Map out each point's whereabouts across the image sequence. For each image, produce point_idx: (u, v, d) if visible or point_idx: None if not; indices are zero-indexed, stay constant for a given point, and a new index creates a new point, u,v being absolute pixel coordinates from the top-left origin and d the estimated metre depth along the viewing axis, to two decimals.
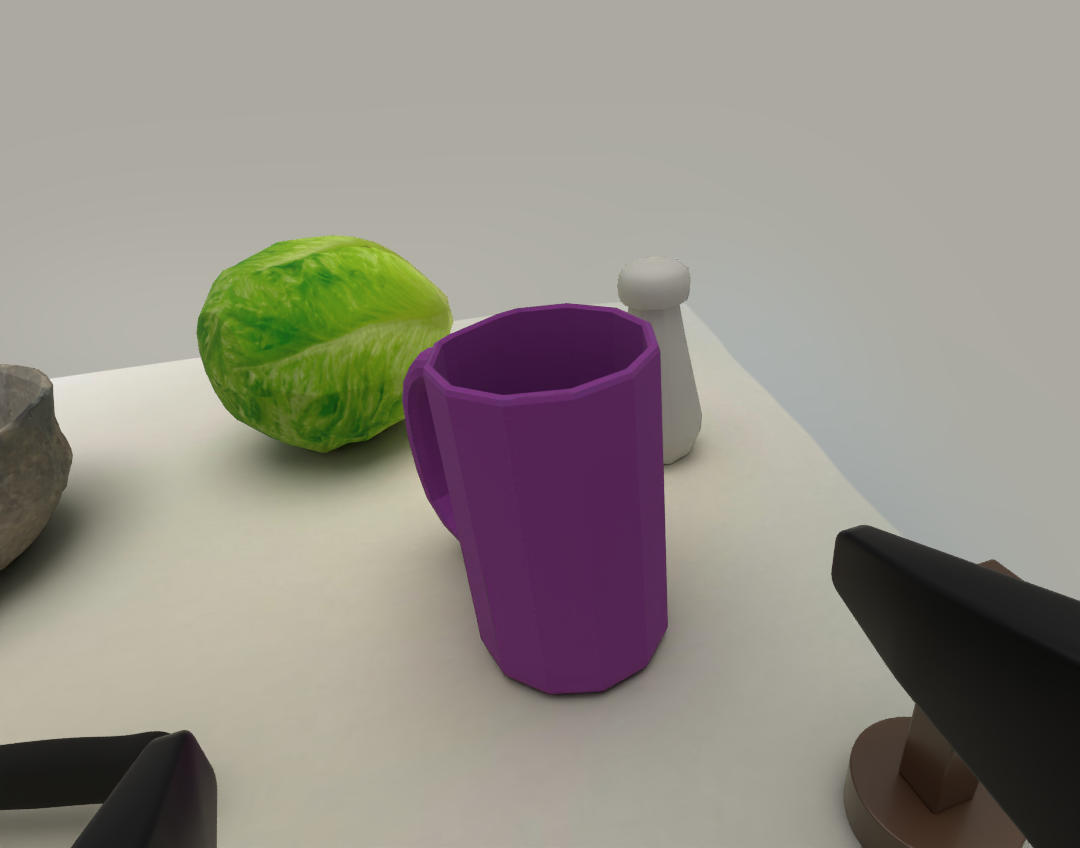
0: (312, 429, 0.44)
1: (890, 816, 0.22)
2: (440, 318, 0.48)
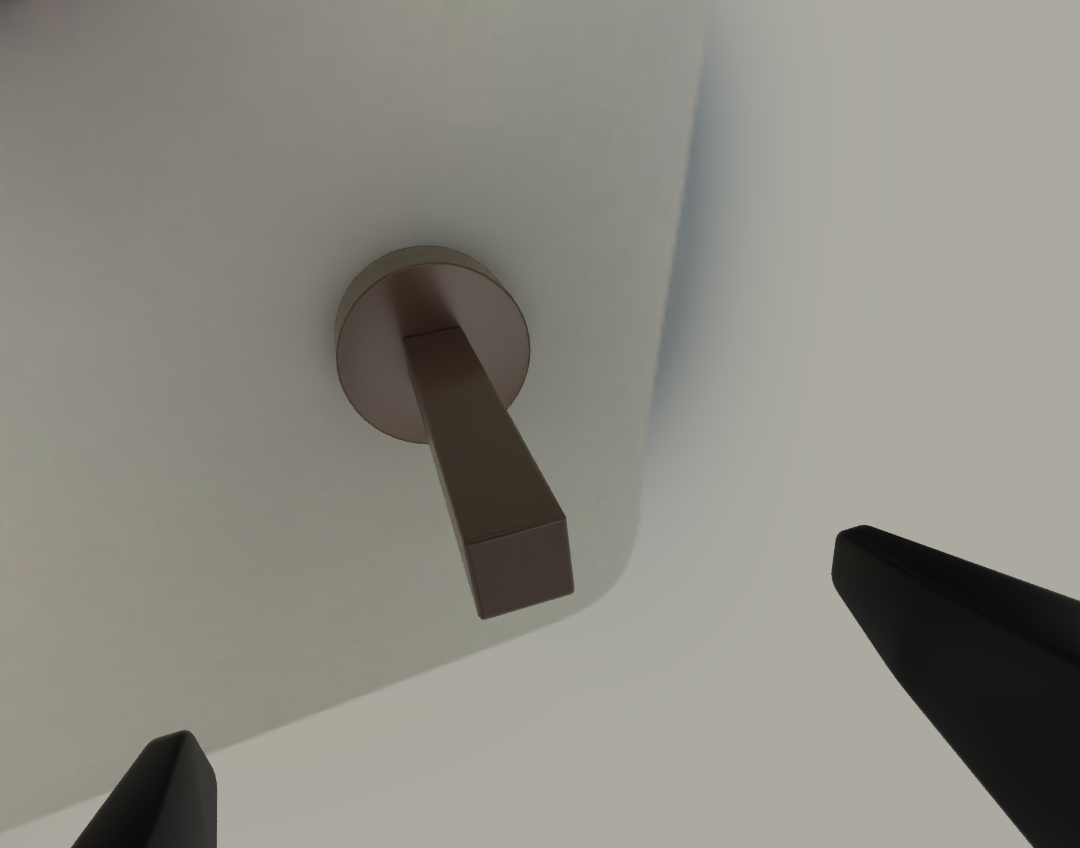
0: None
1: (363, 389, 0.18)
2: None
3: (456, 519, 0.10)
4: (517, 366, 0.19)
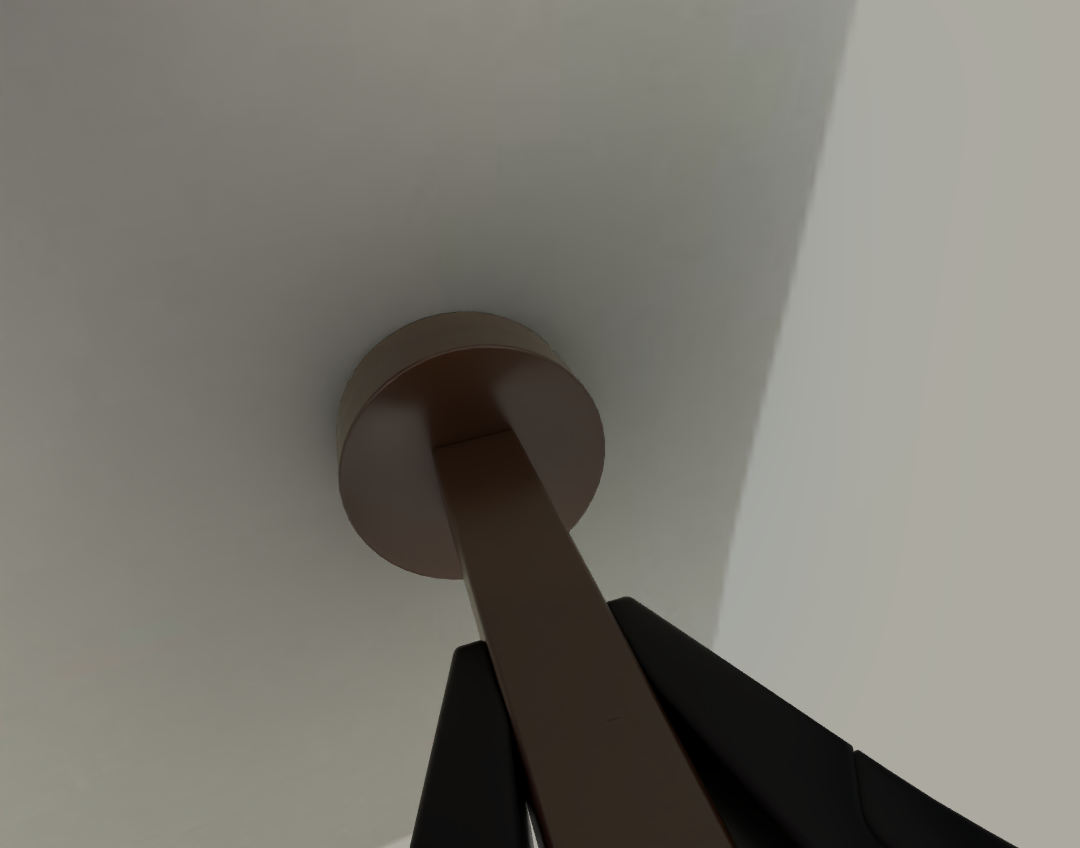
0: None
1: (376, 516, 0.13)
2: None
3: None
4: (587, 476, 0.14)
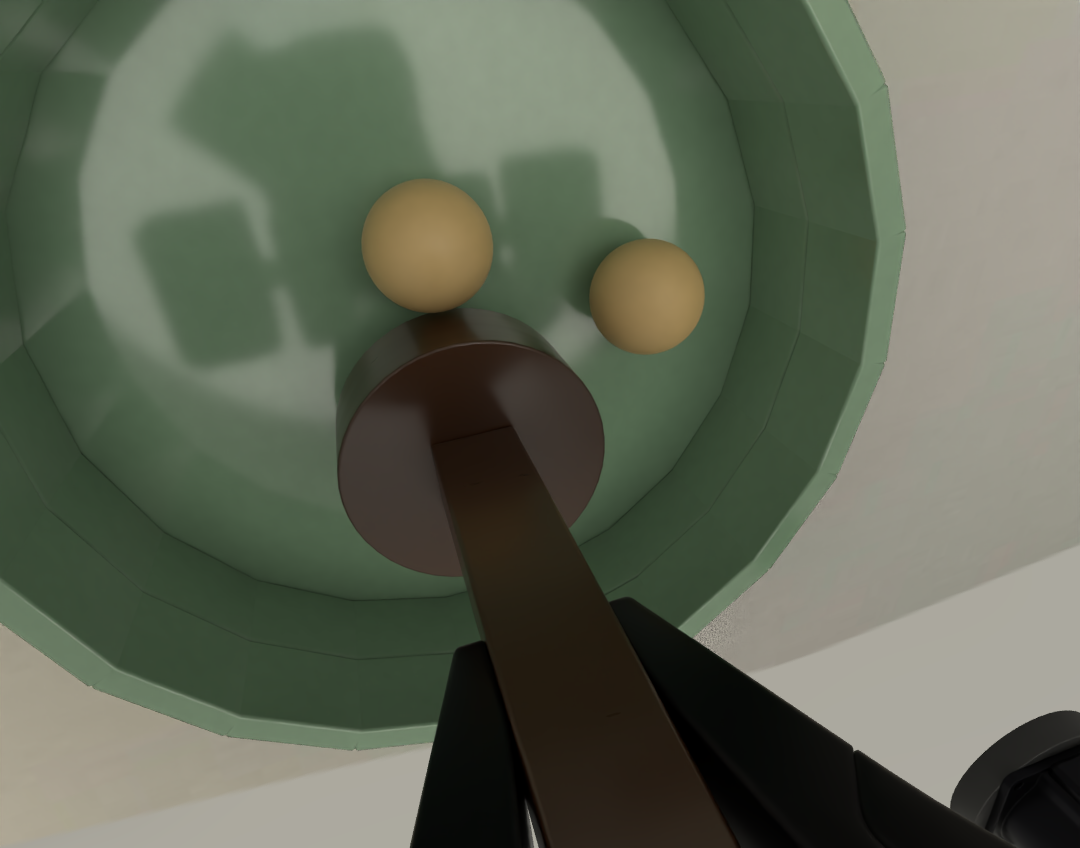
0: None
1: (375, 513, 0.13)
2: None
3: None
4: (586, 473, 0.14)
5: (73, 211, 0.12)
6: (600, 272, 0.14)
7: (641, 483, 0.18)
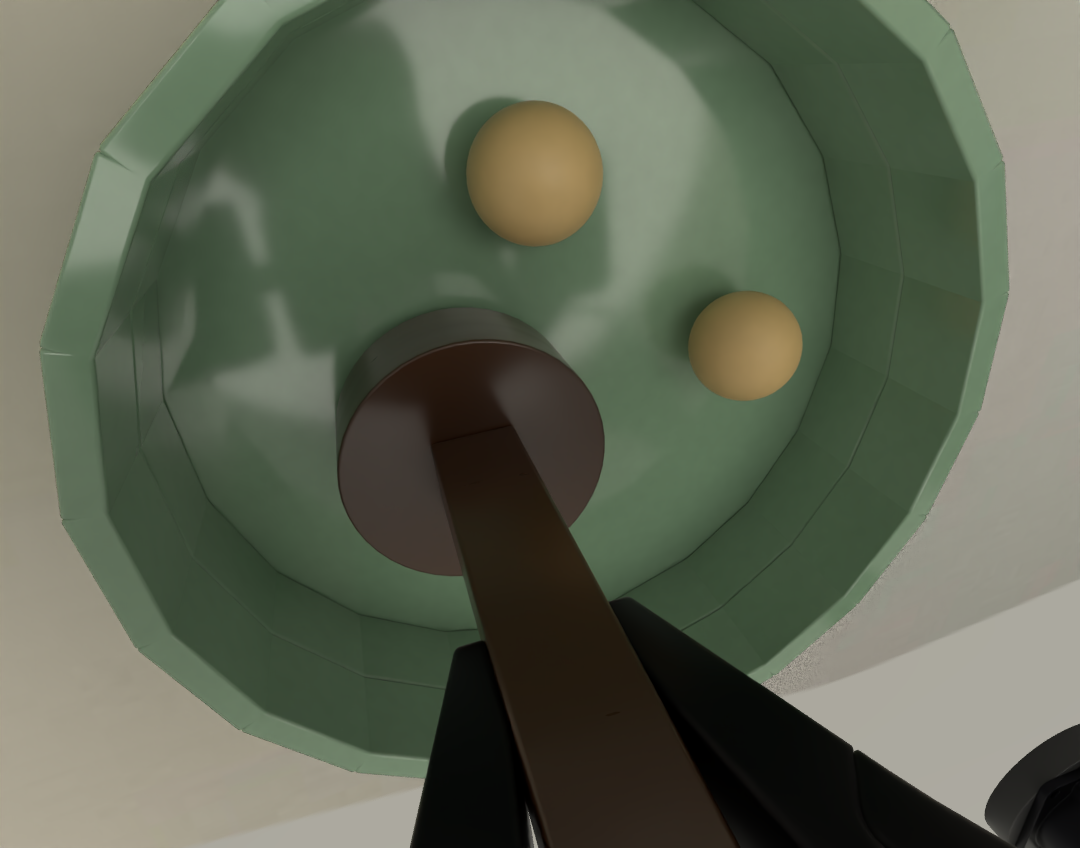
0: None
1: (374, 512, 0.13)
2: None
3: None
4: (586, 472, 0.14)
5: (218, 276, 0.12)
6: (703, 324, 0.14)
7: (719, 515, 0.18)
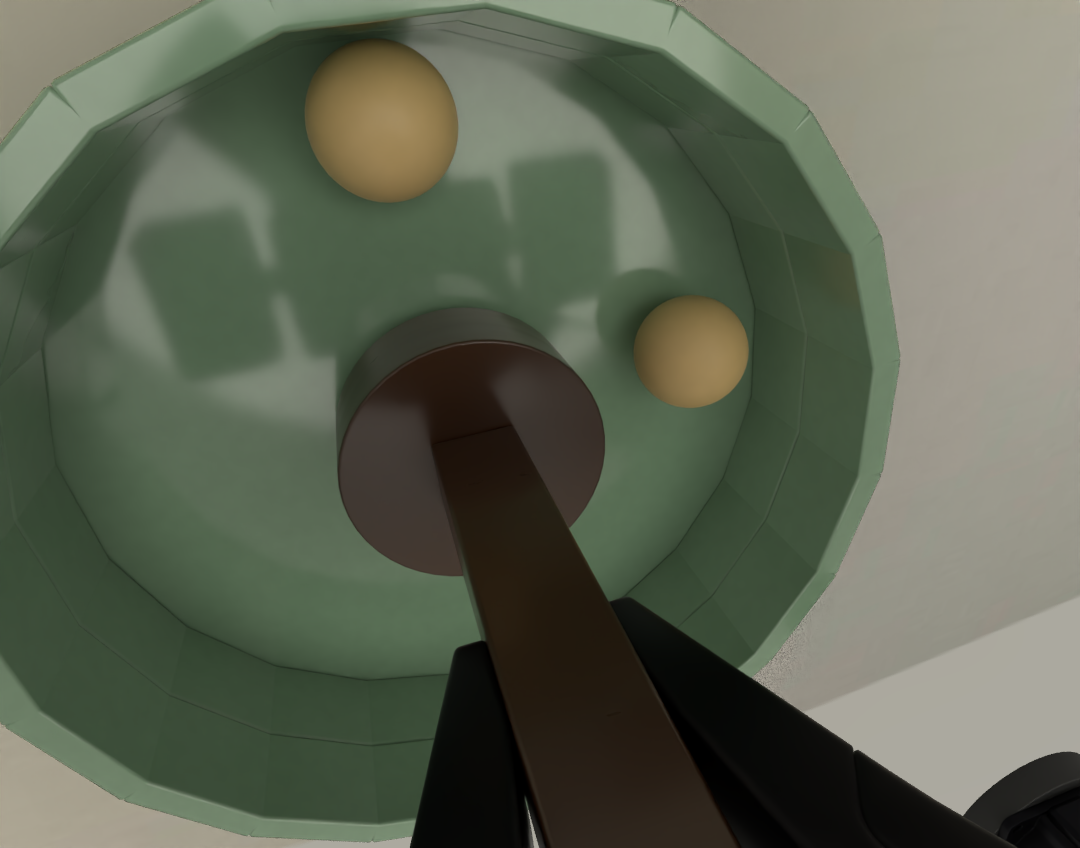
0: None
1: (375, 512, 0.13)
2: None
3: None
4: (587, 472, 0.14)
5: (105, 344, 0.12)
6: (657, 319, 0.14)
7: (646, 562, 0.18)
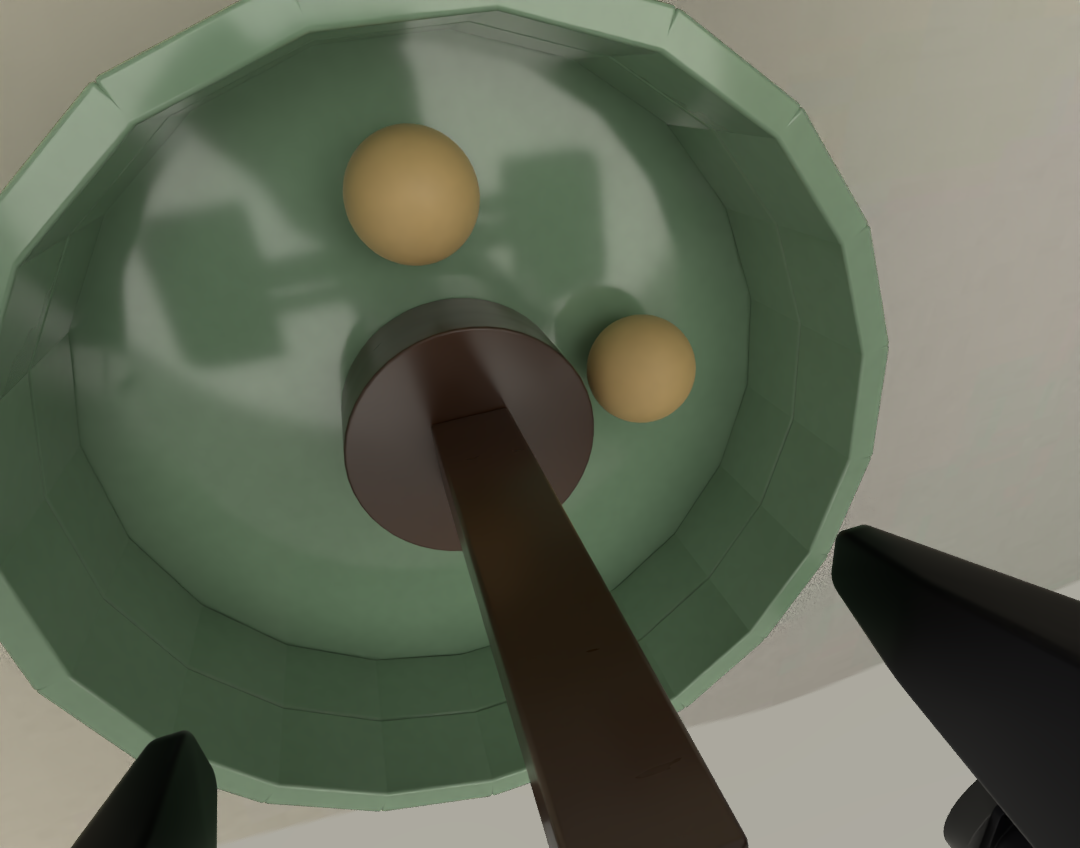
0: None
1: (378, 489, 0.13)
2: None
3: (555, 831, 0.06)
4: (577, 453, 0.14)
5: (128, 329, 0.13)
6: (606, 329, 0.15)
7: (645, 546, 0.19)
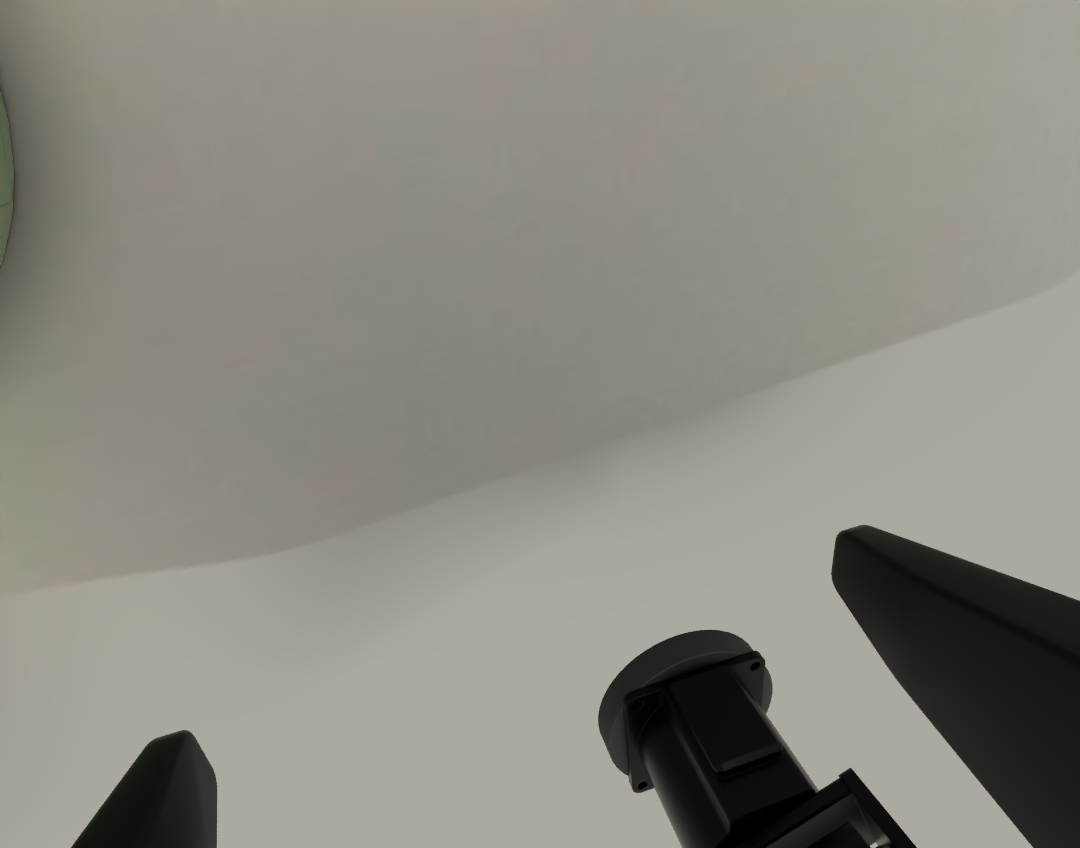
0: None
1: None
2: None
3: None
4: None
5: None
6: None
7: None
